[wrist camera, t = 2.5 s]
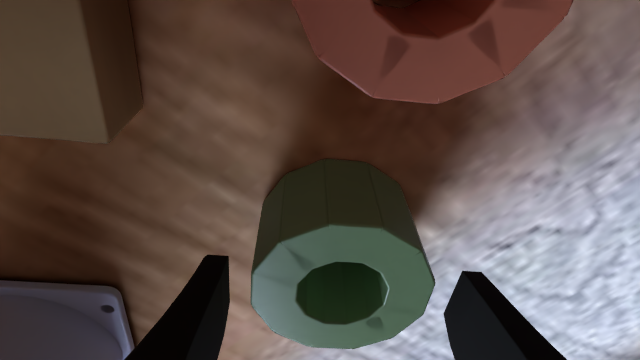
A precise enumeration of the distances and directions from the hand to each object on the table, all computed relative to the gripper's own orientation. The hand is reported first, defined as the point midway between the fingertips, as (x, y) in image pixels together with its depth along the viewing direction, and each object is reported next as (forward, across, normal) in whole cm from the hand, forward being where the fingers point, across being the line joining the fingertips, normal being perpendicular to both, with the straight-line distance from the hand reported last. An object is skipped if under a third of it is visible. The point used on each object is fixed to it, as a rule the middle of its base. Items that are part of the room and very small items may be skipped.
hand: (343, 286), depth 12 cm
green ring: (+3, 0, 0) cm, 3 cm away
